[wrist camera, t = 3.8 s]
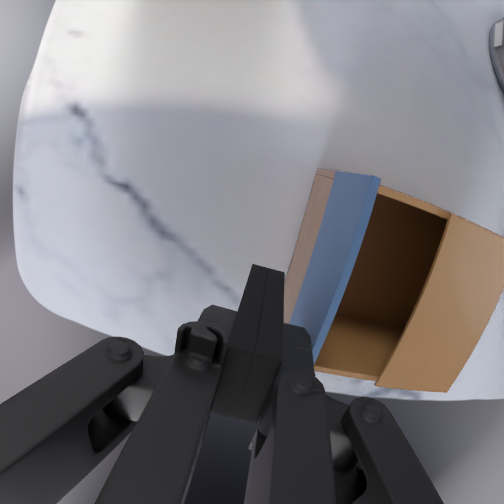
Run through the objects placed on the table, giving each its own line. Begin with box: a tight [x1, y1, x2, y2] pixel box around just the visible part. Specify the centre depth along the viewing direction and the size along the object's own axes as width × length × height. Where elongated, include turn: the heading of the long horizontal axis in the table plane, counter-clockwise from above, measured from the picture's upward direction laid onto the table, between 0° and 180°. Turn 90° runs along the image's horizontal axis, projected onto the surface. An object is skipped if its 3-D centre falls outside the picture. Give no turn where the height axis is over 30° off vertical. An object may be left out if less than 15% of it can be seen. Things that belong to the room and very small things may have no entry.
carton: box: [284, 169, 504, 392], centre depth 21 cm, size 15×13×10 cm
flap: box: [289, 171, 381, 364], centre depth 13 cm, size 7×13×1 cm
